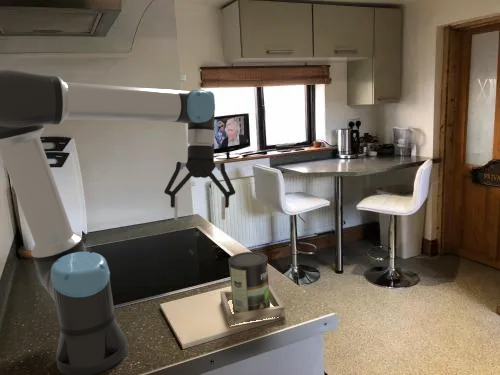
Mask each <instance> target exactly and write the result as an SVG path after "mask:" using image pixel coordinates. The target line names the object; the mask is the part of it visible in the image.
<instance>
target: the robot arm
mask: <svg viewBox="0 0 500 375" xmlns="http://www.w3.org/2000/svg"><path fill="white" fill-rule="evenodd" d="M215 112H216V102H215V94H214V92H212V91H211V90H207V89H191V90H176V89H165V88H163V89H162V88H150V87H149V88H148V87H135V86H125V85H124V86H121V85H111V84H108V85H106V84H94V83H79V82H67V81H66V82H65V81H64V80H63V79H61V77H59V76H55V75H53V76H52V75H47V74H46V75H45V74H38V73H31V72H26V71H20V70H16V69H15V70H14V69H0V156H1V159H2V162H3V163H4V166H5V168H6V172H7V174H8V176H9V179H10V182H11V185H12V187H13V189H14V192H15V195H16V197H17V200H18V202H19V205H20V208H21V211H22V213H23V216H24V218H25V221H26V225H27V226H28V229H29V232H30V234H31V236H32V240H33V242H34V247H33V248H32V250H31V252H30V255H31V256H32V260H33V262H34V264H35V271H36V276H37V279H38V281H39V283H40V284H41V286H42V287H43V288H44V289H46V291H47V293H48V294H49V296H50V297H51V299H53V301H54V303H55V306H56V314H57V319H58V324H59V330H60V331H59V332H60V334H59V340H58V345H57V351H56V354H55V357H56V358H55V360H56V366H57V369H58V371H59V372H60V373H61V374H63V375H97V374H100V373H103V372H105V371H107V370H109V369H112V368H113V367H114V366H116V365H118V363H120V362H121V361H122V360H123V358H124V357H125V356H126V354H127V352H128V345H127V338H126V336H125V334H124V332H123V330H122V328H121V327H120V325H119V323H118V322H117V319H116V315H115V310H114V300H113V293H112V287H111V286H112V285H111V279H110V278H111V272H110V268H109V265H108V262H107V260H106V258H105V257H104V256H103V255H101V254H100V253H96V252H94V251H93V252H90V251H87V249H86V246H85V243H84V240H83V237H82V236H81V234H79V233H76V232H74V231H73V229H72V226H71V223H70V221H69V217H68V215H67V212H66V209H65V206H64V203H63V199H62V198H61V195H60V194H61V193H60V191H59V189H58V185H57V183H56V180H55V178H54V175H53V171H52V169H51V166H50V162H49V160H48V157H47V155H46V152H45V149H44V145H43V142H42V140H41V136H42V134H43V132H44V130H45V126H46V125H61V124H62V123H63V122H65V121H67V120H68V121H69V120H72V121H75V120H76V121H119V122H170V123H182V124H187V144H189V145H188V147H187V160H186V162H180V161H177V162H176V163H175V170H174V172H173V174H172V176H171V177H170V179H169V181H168V183H167V185H166V187H165V189H164V194H166V195H168V196H169V197H170V207H171V208H174V218H173V219H174V220H175V221H176V220H177V221H178V202H179V201H178V195H177V194H178V192H179V191H180V190H181V189H182V188H183V187H184V186H185V185H186V183H187V182H188V181H189V180H190V179H191V177H193V178H196V179H198V178H202V179H206V178H208V177H209V179H210V180H211V181H212V182H213V183H214V184H215V185H216V187H217V189H219V191H220V192H221V193H222V195H224V196H221V208H220V210H221V212H220V213H221V215H220V216H221V218H220V219H221V220H226V208H230V197H231V196H233V195H235V194H236V190H235V187H234V186H233V184H232V182H231V180H230V178H229V176H228V173H227V172H226V166H225V165H226V164H225V163H224V162H220V163H215V157H214V156H215V147H214V146H213V145H215ZM44 125H45V126H44ZM184 168H186V169H187V171H188V173H187V174H185V176H184V177H183V178H182V180H181V181H179V183H178V184H177V185H176V186H175V187H174V188H173V190H172V187H173V185H174V182H175V181H176V180H177V178H178V175H179V173H180V172H181V171H182V170H183V169H184ZM215 169H217V170H218V171H219V172H220V174H221V176H222V178H223V181H224V182H225V185H226V187H227V189H226V188H225V187H224V185H223V184H222V183H221V182H220V181H219V180H218V178H217V177H216V175H215V174H214V173H213V171H214V170H215ZM180 170H181V171H180Z"/></svg>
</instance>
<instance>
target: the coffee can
mask: <svg viewBox="0 0 500 375" xmlns="http://www.w3.org/2000/svg"><path fill="white" fill-rule="evenodd" d="M228 265H229V275H230V276H229V277H230V287H231V288H230V290H231V291H232V304H233V308H232V309H233V312H234V313H240V312H246V311H252V310H258V309H264V308H270V301H269V284H270V283H269V269H268V268H269V267H268V256H267V255H266V254H265V253H261V252H257V251H246V252H244V251H243V252H239V253H236V254H233V255H232V256H230V257H229V258H228Z"/></svg>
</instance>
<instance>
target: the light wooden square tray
mask: <svg viewBox="0 0 500 375" xmlns="http://www.w3.org/2000/svg"><path fill="white" fill-rule="evenodd" d="M219 295H220V302H221V305H222V304H223V305H222V308H223V307H224V308H223V310H225V311H224V314H225V313H226V314H225V317H226V316H227V317H226V320H227V319H228V320H227V323H228V322H229V323H228V325H230V326H231V325H235V324H239V323H243V322H250V321H256V320H263V319H266V318H267V319H268V318H272V317H273V318H274V317H275V318H277V317H279V318H281V319H285V318H286V316H285V315H286V312H285V306H284V305H283V303H282V301H281V300H280V298H279V296H278V294H276V292H275V290H274V288H273V287H272V285H271V284H270V283H269V301H270V303H271V304H272V305H273V306H274V307H270V308H264V309H258V310H252V311H246V312H240V313H234V314H232V312H231V309H230V306H229V304H228V301H229V300H232V291H231V289H230V290H223V291H220V294H219ZM230 326H229V327H230Z"/></svg>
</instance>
